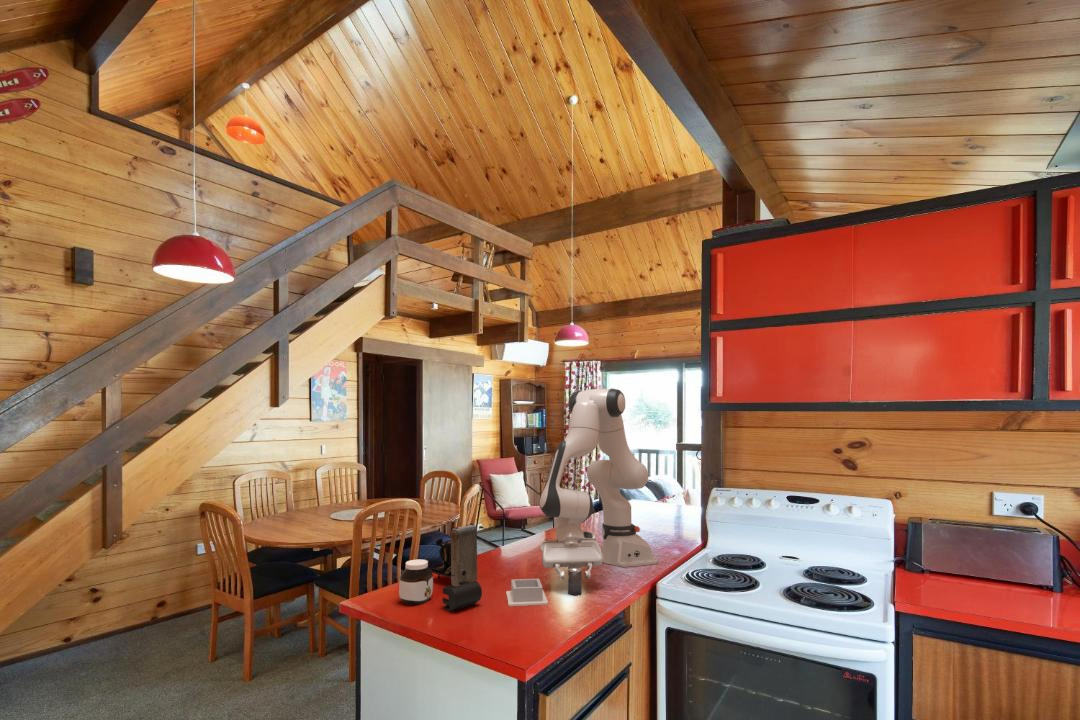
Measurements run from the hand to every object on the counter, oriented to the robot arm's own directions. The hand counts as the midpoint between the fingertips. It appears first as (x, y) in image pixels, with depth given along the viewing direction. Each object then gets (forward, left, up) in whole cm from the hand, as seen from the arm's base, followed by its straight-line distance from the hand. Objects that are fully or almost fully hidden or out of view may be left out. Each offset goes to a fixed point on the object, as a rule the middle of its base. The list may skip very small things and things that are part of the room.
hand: (575, 578), depth 174 cm
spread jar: (+51, -2, -5) cm, 51 cm away
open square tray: (+16, +2, -5) cm, 17 cm away
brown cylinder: (0, -1, -5) cm, 5 cm away
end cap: (+36, +7, -5) cm, 37 cm away
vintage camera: (+40, -17, -5) cm, 44 cm away
